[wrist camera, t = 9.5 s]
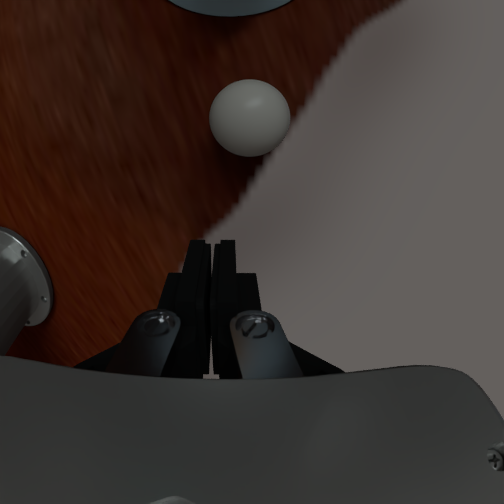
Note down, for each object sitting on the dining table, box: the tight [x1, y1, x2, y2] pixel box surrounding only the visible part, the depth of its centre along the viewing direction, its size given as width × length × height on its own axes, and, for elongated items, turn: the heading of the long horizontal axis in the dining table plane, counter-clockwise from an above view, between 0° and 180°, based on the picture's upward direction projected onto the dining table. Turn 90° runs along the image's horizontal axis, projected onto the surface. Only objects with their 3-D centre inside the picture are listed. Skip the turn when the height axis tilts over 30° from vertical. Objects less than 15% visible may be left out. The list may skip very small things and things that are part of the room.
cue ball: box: [209, 80, 290, 157], centre depth 19 cm, size 6×6×6 cm
